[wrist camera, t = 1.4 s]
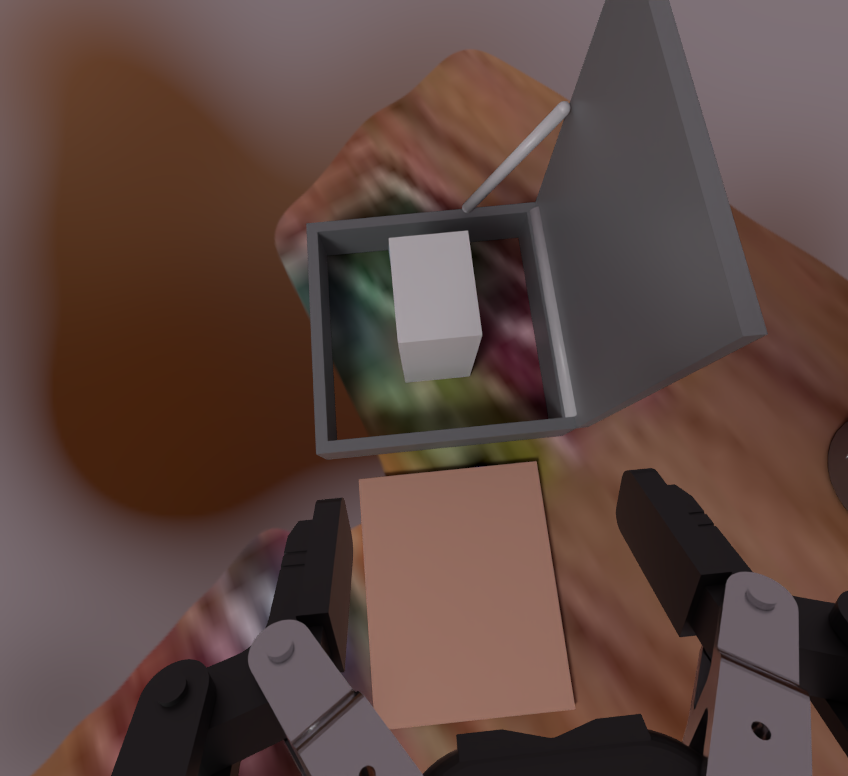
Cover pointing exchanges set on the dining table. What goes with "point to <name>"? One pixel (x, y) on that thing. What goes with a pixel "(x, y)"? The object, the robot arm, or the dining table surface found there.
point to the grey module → (435, 305)
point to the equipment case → (589, 244)
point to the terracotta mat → (461, 597)
